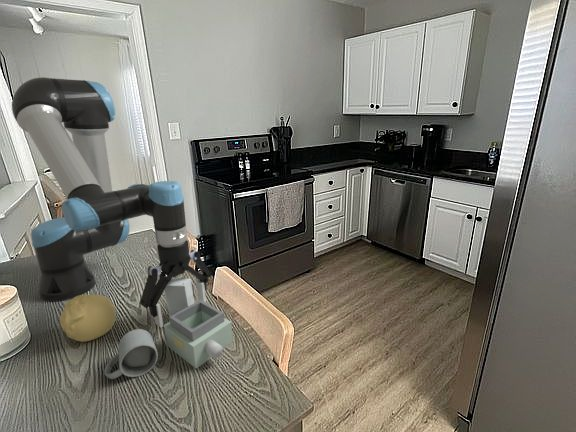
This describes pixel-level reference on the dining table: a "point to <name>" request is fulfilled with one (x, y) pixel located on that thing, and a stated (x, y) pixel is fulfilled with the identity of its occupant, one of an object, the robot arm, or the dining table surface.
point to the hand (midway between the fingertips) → (182, 312)
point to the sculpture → (87, 317)
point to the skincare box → (178, 295)
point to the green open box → (198, 333)
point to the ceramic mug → (133, 355)
